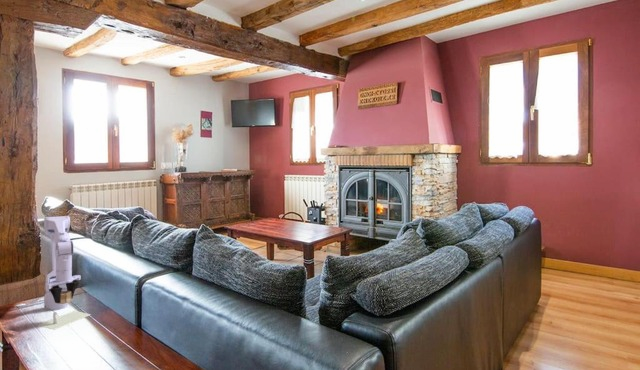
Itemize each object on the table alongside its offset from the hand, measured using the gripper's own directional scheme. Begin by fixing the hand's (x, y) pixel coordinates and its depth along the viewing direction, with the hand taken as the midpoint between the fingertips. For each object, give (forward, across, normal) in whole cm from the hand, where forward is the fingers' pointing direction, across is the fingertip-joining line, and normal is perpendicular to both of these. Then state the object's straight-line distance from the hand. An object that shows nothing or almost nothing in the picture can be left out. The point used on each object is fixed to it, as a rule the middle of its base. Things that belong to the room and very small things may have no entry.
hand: (63, 300), depth 166 cm
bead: (0, 0, 0) cm, 0 cm away
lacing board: (+10, +1, 0) cm, 10 cm away
